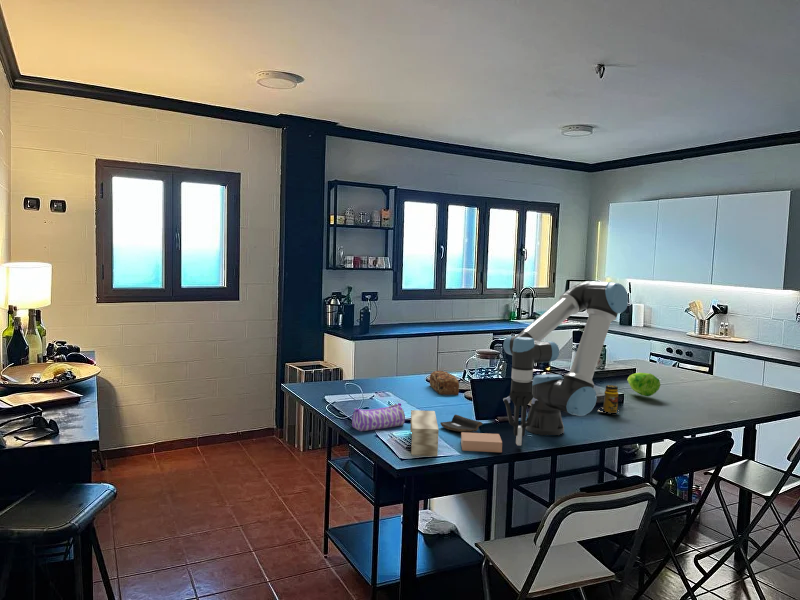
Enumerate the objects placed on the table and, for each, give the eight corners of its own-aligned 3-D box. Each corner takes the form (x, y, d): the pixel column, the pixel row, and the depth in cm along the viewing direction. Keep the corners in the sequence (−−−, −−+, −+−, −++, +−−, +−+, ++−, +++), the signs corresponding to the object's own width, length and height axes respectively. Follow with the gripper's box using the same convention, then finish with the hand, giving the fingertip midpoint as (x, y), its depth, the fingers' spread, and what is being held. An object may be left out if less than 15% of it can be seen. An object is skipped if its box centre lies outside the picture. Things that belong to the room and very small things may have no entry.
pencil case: (394, 422, 246) (395, 399, 245) (408, 428, 238) (408, 404, 237) (348, 430, 232) (349, 406, 231) (361, 436, 225) (362, 412, 224)
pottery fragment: (437, 426, 238) (438, 415, 238) (457, 424, 246) (458, 414, 246) (464, 434, 227) (465, 423, 227) (484, 432, 234) (486, 421, 234)
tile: (498, 444, 222) (499, 434, 221) (501, 453, 212) (502, 442, 211) (460, 442, 222) (461, 432, 222) (462, 451, 213) (462, 440, 212)
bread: (428, 388, 310) (429, 369, 309) (448, 388, 312) (449, 369, 311) (438, 397, 291) (439, 377, 291) (459, 396, 294) (460, 376, 293)
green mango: (640, 389, 324) (641, 367, 323) (664, 398, 305) (666, 375, 304) (617, 389, 321) (619, 367, 320) (640, 398, 302) (642, 375, 301)
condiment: (615, 414, 270) (617, 388, 269) (596, 411, 274) (598, 385, 273) (619, 411, 276) (621, 385, 275) (601, 408, 280) (602, 383, 279)
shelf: (433, 435, 229) (434, 411, 228) (437, 456, 205) (438, 429, 204) (410, 434, 229) (411, 410, 228) (411, 455, 205) (412, 428, 204)
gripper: (537, 378, 219) (534, 441, 221) (502, 377, 219) (498, 440, 221) (542, 383, 211) (538, 448, 213) (505, 381, 211) (502, 446, 213)
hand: (518, 444), depth 217 cm, fingers closed
